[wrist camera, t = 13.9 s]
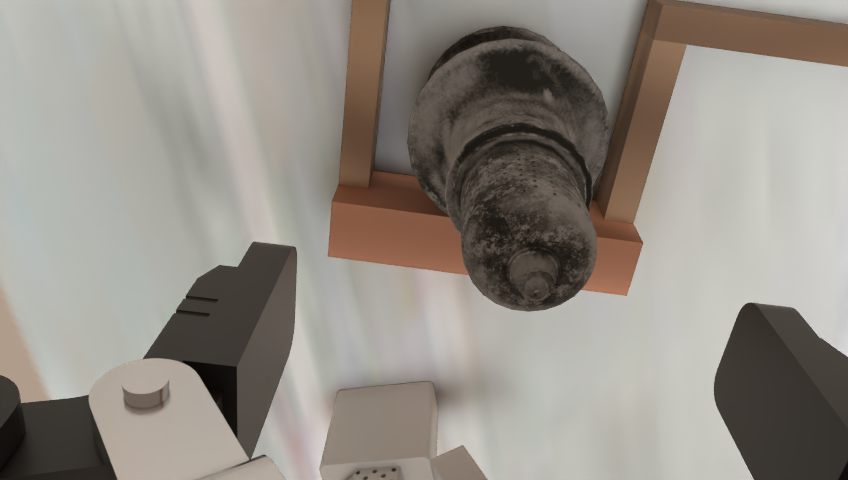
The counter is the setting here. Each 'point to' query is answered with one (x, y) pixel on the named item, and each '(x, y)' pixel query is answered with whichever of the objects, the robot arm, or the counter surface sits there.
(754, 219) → the counter surface
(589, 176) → the salt shaker
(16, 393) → the robot arm
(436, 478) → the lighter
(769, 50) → the track
